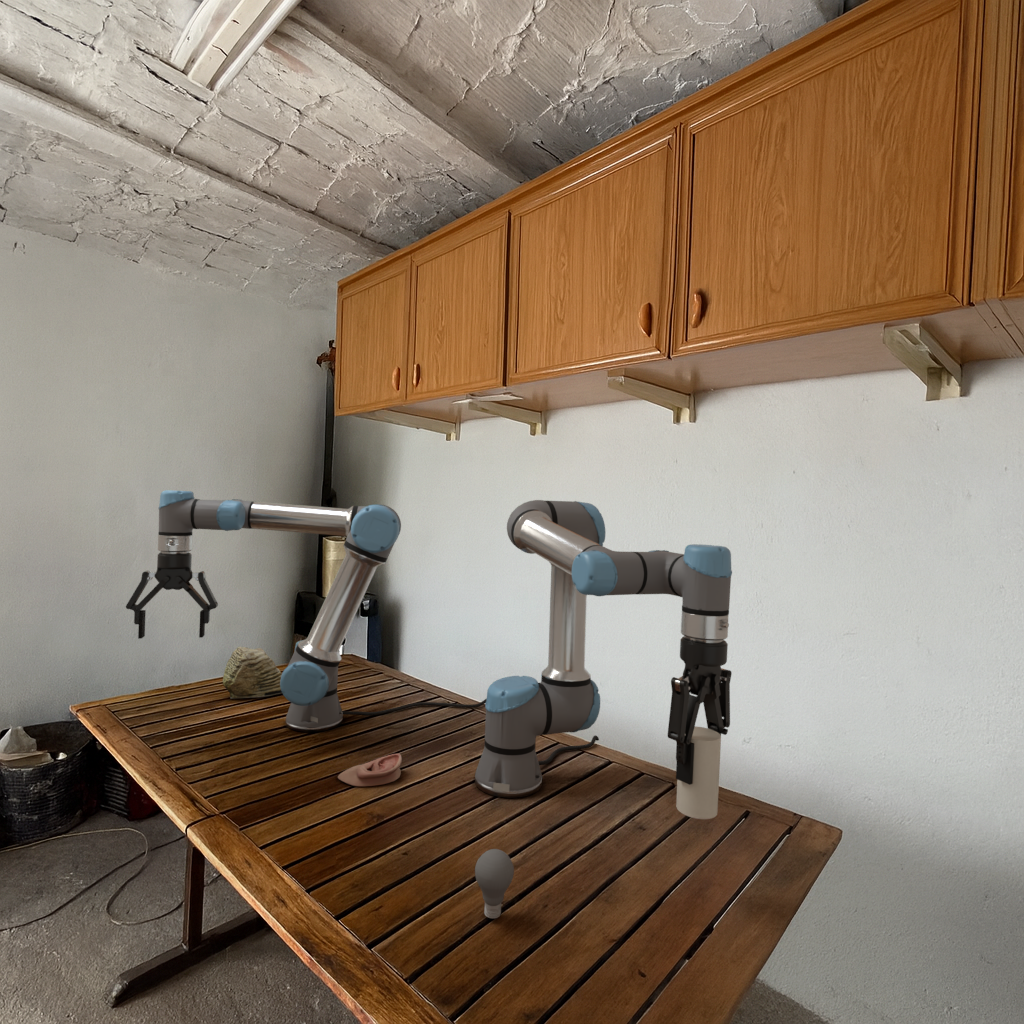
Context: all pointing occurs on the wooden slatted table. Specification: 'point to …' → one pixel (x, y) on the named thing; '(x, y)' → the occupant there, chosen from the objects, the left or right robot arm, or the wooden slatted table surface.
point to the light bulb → (494, 879)
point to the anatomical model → (373, 772)
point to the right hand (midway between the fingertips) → (697, 775)
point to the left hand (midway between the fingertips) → (172, 637)
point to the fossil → (251, 674)
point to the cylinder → (702, 777)
